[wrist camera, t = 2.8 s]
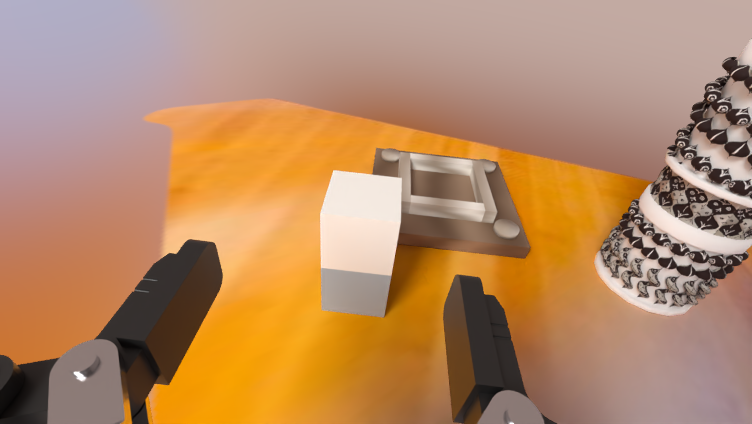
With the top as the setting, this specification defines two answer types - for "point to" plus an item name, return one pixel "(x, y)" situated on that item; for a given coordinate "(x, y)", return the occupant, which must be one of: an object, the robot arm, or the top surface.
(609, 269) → the decorative candle
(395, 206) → the post
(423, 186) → the socket plate
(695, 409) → the top surface
